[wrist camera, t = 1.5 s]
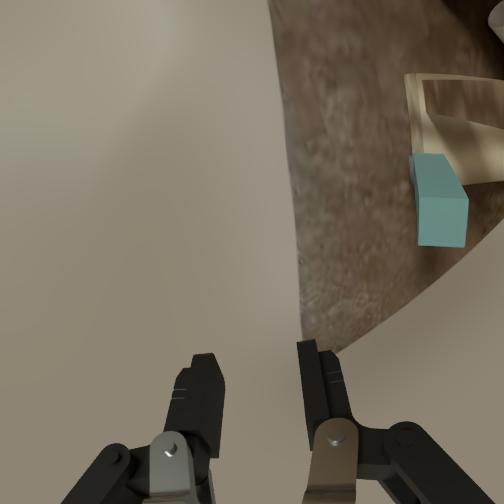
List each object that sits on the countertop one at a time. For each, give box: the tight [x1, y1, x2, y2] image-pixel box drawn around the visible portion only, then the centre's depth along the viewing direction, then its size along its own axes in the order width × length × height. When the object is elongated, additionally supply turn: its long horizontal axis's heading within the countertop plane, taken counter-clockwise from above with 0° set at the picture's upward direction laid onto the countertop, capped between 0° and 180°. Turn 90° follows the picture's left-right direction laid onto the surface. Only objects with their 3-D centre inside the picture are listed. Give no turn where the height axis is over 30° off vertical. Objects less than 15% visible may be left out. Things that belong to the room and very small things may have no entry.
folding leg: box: [408, 153, 469, 247], centre depth 24 cm, size 4×4×14 cm
